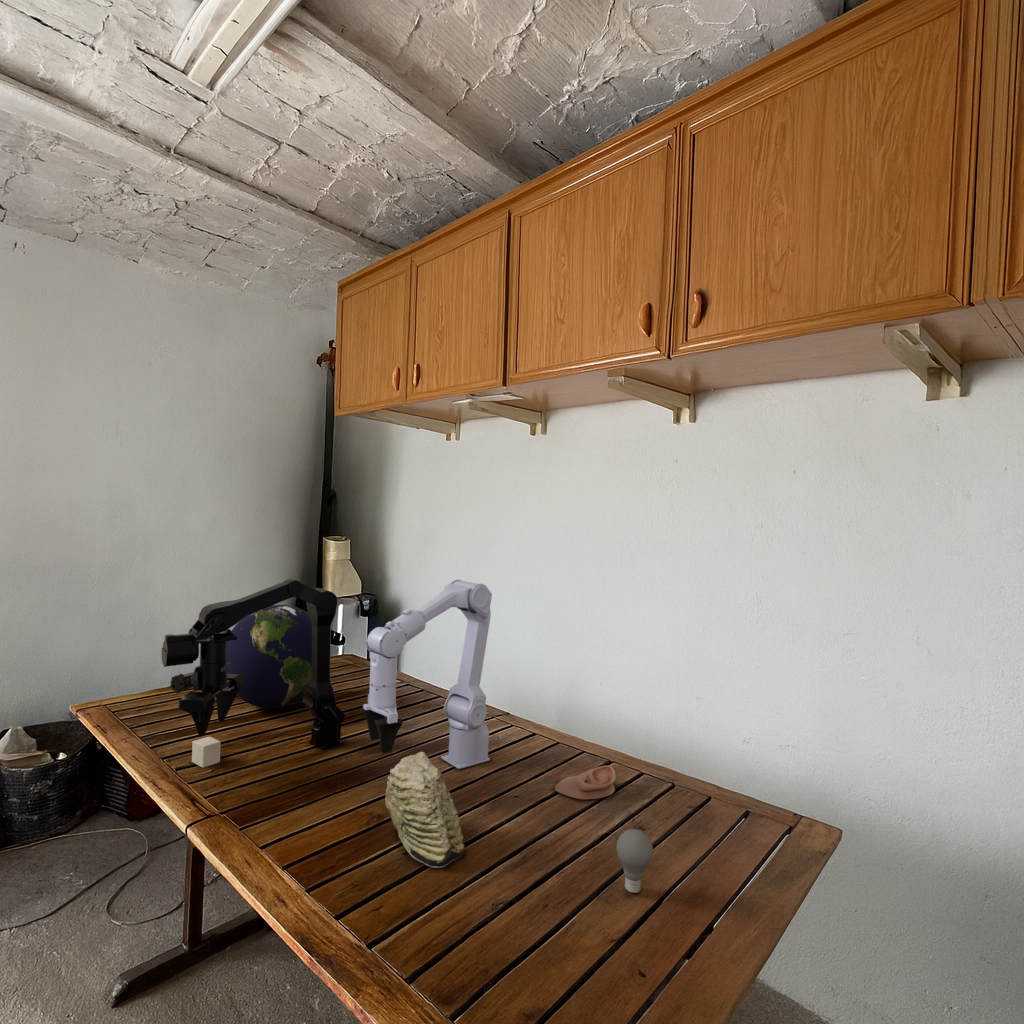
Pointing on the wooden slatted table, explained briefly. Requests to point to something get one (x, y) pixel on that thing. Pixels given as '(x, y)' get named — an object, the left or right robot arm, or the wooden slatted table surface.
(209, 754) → the beige cube
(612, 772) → the anatomical model
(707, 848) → the wooden slatted table surface
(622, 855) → the light bulb
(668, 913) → the wooden slatted table surface
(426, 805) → the fossil
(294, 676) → the globe
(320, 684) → the left robot arm
